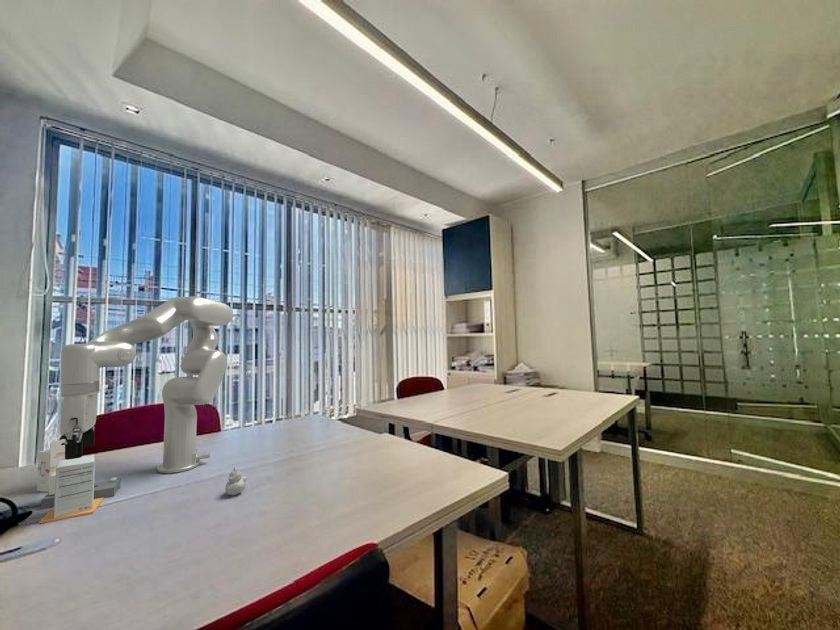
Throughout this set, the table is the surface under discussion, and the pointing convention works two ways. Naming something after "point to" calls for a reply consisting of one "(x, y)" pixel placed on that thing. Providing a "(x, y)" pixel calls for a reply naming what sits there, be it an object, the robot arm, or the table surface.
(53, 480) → the cream rectangular block
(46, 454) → the ink cartridge box
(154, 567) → the table surface
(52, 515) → the pad
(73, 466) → the supplement box
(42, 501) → the gray flat block
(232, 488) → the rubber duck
